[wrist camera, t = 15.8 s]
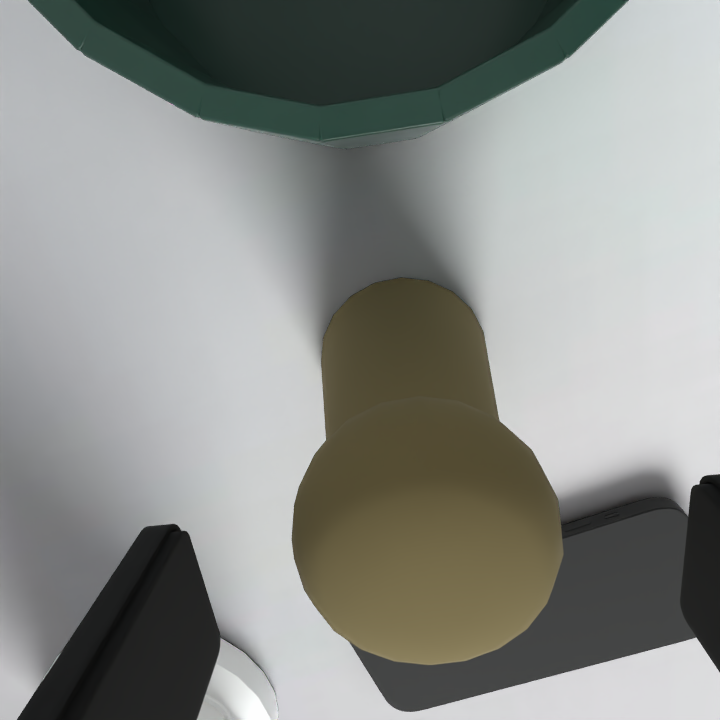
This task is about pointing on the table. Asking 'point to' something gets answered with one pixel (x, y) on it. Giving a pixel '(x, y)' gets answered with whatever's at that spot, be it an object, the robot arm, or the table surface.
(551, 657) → the phone
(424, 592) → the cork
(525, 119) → the table surface
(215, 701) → the decorative container
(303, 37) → the pot
